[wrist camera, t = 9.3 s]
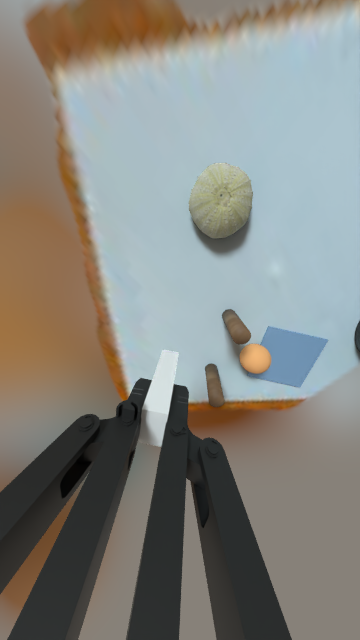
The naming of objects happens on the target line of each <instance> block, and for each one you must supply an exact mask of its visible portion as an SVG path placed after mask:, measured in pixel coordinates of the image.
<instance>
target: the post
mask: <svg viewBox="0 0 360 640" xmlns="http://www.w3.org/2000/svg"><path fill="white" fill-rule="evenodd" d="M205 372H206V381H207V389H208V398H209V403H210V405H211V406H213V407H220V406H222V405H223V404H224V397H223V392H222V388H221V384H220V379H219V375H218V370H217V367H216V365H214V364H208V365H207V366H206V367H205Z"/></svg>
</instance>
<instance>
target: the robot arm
mask: <svg viewBox="0 0 360 640" xmlns="http://www.w3.org/2000/svg"><path fill="white" fill-rule="evenodd" d="M355 340H356V345H357V348H358V349H359V351H360V322H359V324H358V327H357V330H356V335H355ZM178 356H179V353H178V352H173V351H168V350H163V351H162V354H161V356H160V359H159V362H158V365H157V368H156V371H155V373H154V376H153V379H152V380H148V379H143V378H140V379H139V380H138V381H137V382H136V383H135V385H134V387H133V389H132V391H131V394H130V396H129V398H128V400H126V401H123V402H121V403H119V405H118V406H117V409H116V417H114V418H111V419H103V420H99V418H98V417H97V416H96V415H93V414H87V415H84V416H81V417H80V418H78V419H77V420H76V421H75V422H74V423H73V424H72V425H71V426H70V427H68V428H67V429H66V430H65V431H64V432H63V433H62V434H61V435H60V436H59V437H58V438H57V439H56V440H55V441H54V442H53V443H52V444H51V445H49V446H48V447H47V448H46V450H44V451H43V452H42V453H41V454H40V455H39V456H38V457H37V458H36V459H35V460H34V461H33V462H32V463H31V464H30V465H28V467H26V468H25V469H24V470H23V471H22V472H21V473H20V474H19V475H18V476H17V477H16V478H15V479H14V480H13V481H12V482H11V483H10V484H9V485H7V486H6V487H5V488H4V489H3V490H2V491H1V492H0V594H1V593H2V591H3V590H4V588H5V587H6V586H7V584H8V583H9V581H10V580H11V579H12V577H13V576H14V575H15V573H16V572H17V570H18V569H19V568H20V566H21V565H22V564H23V562H24V561H25V559H26V558H27V557H28V555H29V554H30V553H31V551H32V550H33V548H34V547H35V546H36V544H37V543H38V542H39V540H40V539H41V537H42V536H43V535H44V533H45V532H46V531H47V529H48V528H49V526H50V525H51V524H52V522H53V521H54V519H55V518H56V517H57V515H58V514H59V512H60V511H61V510H62V509H63V507H64V506H65V504H66V503H67V501H68V500H69V499H70V497H71V496H72V495H73V493H74V492H75V491H76V489H77V488H78V487H79V485H80V483H81V482H82V481H83V480H84V478H85V477H86V476H87V474H88V473H89V474H88V476H87V478H86V480H85V482H84V484H83V486H82V488H81V490H80V492H79V495H78V497H77V499H76V501H75V503H74V505H73V507H72V509H71V511H70V513H69V515H68V517H67V519H66V521H65V523H64V525H63V527H62V529H61V531H60V533H59V535H58V537H57V539H56V541H55V543H54V546H53V548H52V550H51V552H50V554H49V556H48V558H47V560H46V562H45V564H44V566H43V568H42V570H41V572H40V574H39V576H38V578H37V580H36V582H35V584H34V586H33V588H32V591H31V592H30V595H29V597H28V599H27V601H26V603H25V605H24V607H23V609H22V611H21V613H20V615H19V617H18V619H17V621H16V623H15V625H14V627H13V629H12V631H11V634H10V635H9V637H8V639H7V640H78V638H79V634H80V631H81V628H82V625H83V621H84V618H85V615H86V611H87V608H88V605H89V602H90V598H91V595H92V591H93V588H94V585H95V582H96V579H97V575H98V572H99V569H100V566H101V562H102V559H103V556H104V553H105V549H106V546H107V543H108V540H109V536H110V533H111V530H112V526H113V523H114V519H115V517H116V513H117V510H118V506H119V504H120V500H121V497H122V494H123V490H124V487H125V484H126V480H127V477H128V474H129V471H130V468H131V464H132V461H133V458H134V454H135V449H136V445H137V441H138V442H140V443H145V444H150V445H155V446H159V447H161V452H160V457H159V461H158V467H157V474H156V479H155V484H154V489H153V495H152V500H151V506H150V511H149V516H148V522H147V527H146V534H145V538H144V544H143V549H142V555H141V560H140V566H139V571H138V577H137V582H136V587H135V594H134V598H133V604H132V610H131V615H130V621H129V626H128V631H127V637H126V640H179V625H180V601H181V579H182V558H183V536H184V535H183V534H184V513H185V491H186V489H185V488H186V478H187V479H188V480H190V481H191V487H192V493H193V499H194V505H195V511H196V517H197V523H198V529H199V535H200V541H201V547H202V553H203V559H204V565H205V572H206V578H207V584H208V589H209V596H210V601H211V607H212V614H213V620H214V626H215V632H216V638H217V640H292V639H291V636H290V633H289V631H288V628H287V625H286V622H285V620H284V616H283V614H282V611H281V608H280V606H279V602H278V600H277V597H276V594H275V592H274V588H273V586H272V583H271V580H270V577H269V574H268V572H267V569H266V566H265V563H264V561H263V558H262V555H261V552H260V550H259V546H258V544H257V541H256V538H255V535H254V532H253V530H252V527H251V524H250V522H249V519H248V516H247V513H246V510H245V507H244V505H243V502H242V499H241V496H240V493H239V491H238V488H237V485H236V482H235V479H234V477H233V474H232V471H231V468H230V465H229V463H228V460H227V457H226V454H225V451H224V449H223V447H222V445H221V444H220V443H219V442H218V441H217V440H215V439H213V438H205V439H204V440H202V439H200V438H198V437H196V436H195V435H193V434H192V433H191V431H190V430H189V428H188V425H187V417H188V398H189V392H188V389H187V387H185V386H180V385H175V384H174V379H175V373H176V367H177V362H178ZM89 471H90V472H89Z"/></svg>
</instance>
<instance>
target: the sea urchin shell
mask: <svg viewBox="0 0 360 640" xmlns="http://www.w3.org/2000/svg"><path fill="white" fill-rule="evenodd" d="M252 196H253V192H252V187H251V180H250V179H249V177H248V176H247V174H246V173H245V172H244V171H242V170H241V169H240V168H239V167H236V166H232V165H229V164H227V163H214V164H212V165H210V166H208V167H207V168H206V169H205V170H204V172H203V173H202V174H201V175H200V176H199V177H198V179H197V181H196V183H195V185H194V187H193V189H192V192H191V195H190V201H189V211H190V213H191V216H192V218H193V221H194V222H195V224H196V225H197V226H198V228H199V229H200V230H201V231H202V232H203V233H205V234H206V235H207V236H209V237H211V238H216V239H217V238H225V237H227V236H229V235H231V234H233V233H236V231H238V230H239V229H240V228H241V227H243V226H244V225H245V223H246V221H247V220H248V217H249V214H250V210H251V208H252Z"/></svg>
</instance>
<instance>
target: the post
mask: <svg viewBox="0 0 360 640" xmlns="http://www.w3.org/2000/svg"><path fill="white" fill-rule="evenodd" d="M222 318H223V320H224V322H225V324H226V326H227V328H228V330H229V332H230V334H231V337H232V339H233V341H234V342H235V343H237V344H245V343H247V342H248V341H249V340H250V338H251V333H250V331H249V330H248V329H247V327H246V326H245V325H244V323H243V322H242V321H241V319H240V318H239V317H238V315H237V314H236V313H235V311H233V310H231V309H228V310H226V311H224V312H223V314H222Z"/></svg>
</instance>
